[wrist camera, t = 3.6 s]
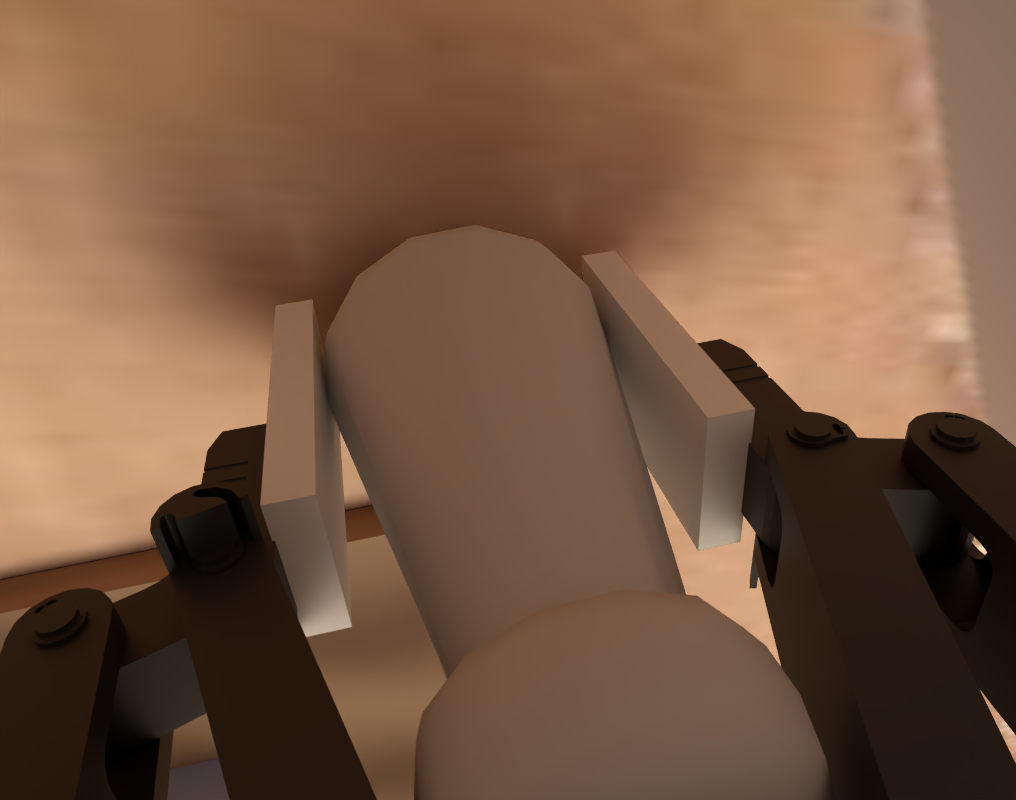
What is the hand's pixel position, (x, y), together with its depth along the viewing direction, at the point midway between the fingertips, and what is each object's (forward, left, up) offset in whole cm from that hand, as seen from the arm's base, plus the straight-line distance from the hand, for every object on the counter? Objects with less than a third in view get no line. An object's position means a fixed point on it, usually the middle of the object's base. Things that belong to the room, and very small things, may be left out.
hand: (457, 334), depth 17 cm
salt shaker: (0, 0, -1) cm, 1 cm away
